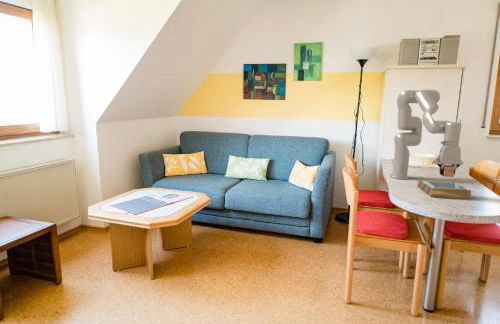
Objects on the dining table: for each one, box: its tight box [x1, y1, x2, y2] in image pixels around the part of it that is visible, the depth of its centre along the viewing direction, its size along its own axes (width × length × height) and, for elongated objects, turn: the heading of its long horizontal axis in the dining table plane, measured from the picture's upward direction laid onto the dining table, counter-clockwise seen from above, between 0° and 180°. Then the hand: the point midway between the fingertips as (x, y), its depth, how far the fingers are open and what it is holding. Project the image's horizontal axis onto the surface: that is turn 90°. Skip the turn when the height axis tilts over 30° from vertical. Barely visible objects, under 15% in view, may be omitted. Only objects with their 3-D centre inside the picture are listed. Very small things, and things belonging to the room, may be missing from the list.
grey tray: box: [425, 180, 468, 190], centre depth 187 cm, size 14×17×4 cm
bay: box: [416, 180, 472, 200], centre depth 191 cm, size 23×20×5 cm
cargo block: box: [442, 164, 455, 178], centre depth 185 cm, size 5×5×6 cm
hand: (447, 174), depth 186 cm, fingers closed on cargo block, 5 cm apart
